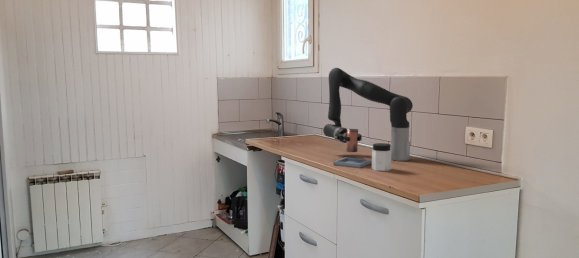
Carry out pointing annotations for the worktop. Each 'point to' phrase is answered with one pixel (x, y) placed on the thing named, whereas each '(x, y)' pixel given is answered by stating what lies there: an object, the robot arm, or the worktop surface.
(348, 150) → the canister
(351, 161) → the tray
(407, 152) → the robot arm
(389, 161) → the jar
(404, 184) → the worktop surface
